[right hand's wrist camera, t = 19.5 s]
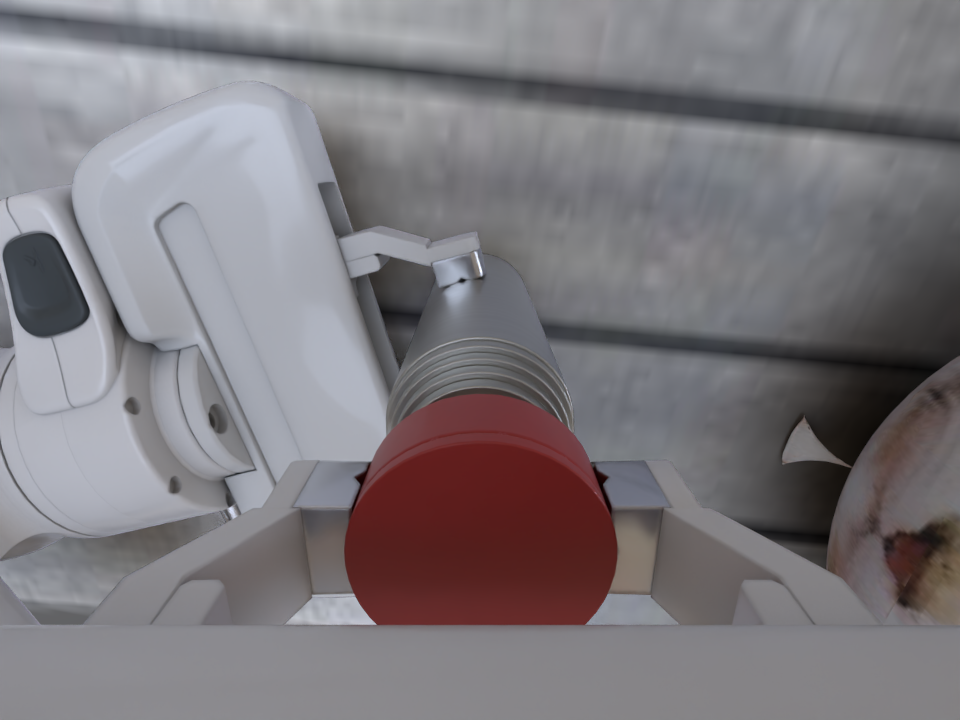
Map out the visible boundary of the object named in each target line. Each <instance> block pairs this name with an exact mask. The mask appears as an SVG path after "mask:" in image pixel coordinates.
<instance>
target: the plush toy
mask: <svg viewBox="0 0 960 720" xmlns="http://www.w3.org/2000/svg"><path fill="white" fill-rule="evenodd" d="M807 460H816V461H827V462H832V463H836V464H840V465H843V466H846V467H849V468H852V470H851V472H850V474H849V476H848V478H847V480H846V483H845V485H844V487H843V490H842V492H841V495H840V498H839V501H838V504H837V507H836V511H835V514H834V518H833V521H832V526H831V532H830V537H829V543H828V551H827V564H826V570H827V571H829V572H831V573H833V574H835V575H837V576H839V577H841V578H842V579H843V580H844V581H845V582H846V583H847V584H848V586H849V587H850V588H851V589H852V590H853V591H854V592H855V594H856V595H857V596H858V597H859V598H860V599H861V600H862V601H863V603H864V604H865V605H866V606H867V607H868V608H869V609H870V610H871V612H872V613H873V614H874V615H875V616H876V617H877V618H878V620H879V621H880V622H881V623H882V624H883V625H960V356H958V357H957V358H955V359H953V360H952V361H951V362H949V363H948V364H946V365H945V366H944V367H942V368H941V369H939V370H938V371H937V372H935V373H934V374H933V375H931V376H930V377H928V378H927V379H926V380H925V381H924V382H923V383H921V384H920V385H919V386H918V387H917V388H916V389H914V390H913V391H912V392H911V393H910V394H909V395H908V396H907V397H906V398H905V399H904V400H903V401H902V402H901V403H900V404H899V405H898V406H897V407H896V408H895V409H894V410H893V411H892V412H891V413H890V415H889V416H888V417H887V418H886V419H885V420H884V422H883V423H882V424H881V425H880V427H879V428H878V429H877V430H876V432H875V433H874V434H873V435H872V437H871V438H870V440H869V441H868V443H867V444H866V446H865V447H864V449H863V450H862V452H861V454H860V455H859V457H858V459H857V460H856V462H855V464H854V466H853V467H852V466H850V465H848V464H847V463H845V462H843V461H842V460H840V459H839V458H837V457H836V456H834V455H833V454H832V453H831V452H830V451H828V450H827V449H826V448H825V447H824V446H823V444H822V443H821V442H820V441H819V440H818V439H817V437H816V436H815V435H814V433H813V431H812V430H811V428H810V425H809V424H808V422H807V420H806V418H805V415H804V417H803V418H802V420H801V421H800V422H799V423H798V425H797V426H796V428H795V429H794V430H793V432H792V433H791V435H790V438H789V440H788V442H787V444H786V447H785V449H784V452H783V455H782V465H784V464H787V463H791V462H797V461H807Z"/></svg>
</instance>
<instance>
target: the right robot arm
mask: <svg viewBox="0 0 960 720" xmlns="http://www.w3.org/2000/svg"><path fill="white" fill-rule="evenodd" d="M370 464H371V461H329V460H322V461H320V460H296V461H292V462H291V463H290V465H289V466H288V468H287V469H286V471H285V472H284V474H283V476H282V477H281V479H280V480H279V482H278V483H277V485H276V486H275V488H274V489H273V491H272V492H271V494H270V495H269V497H268V498H267V500H266V502H265V503H264V505H263V506H262V508H252V509H251V510H249V511H247V512H245V513H243V514H241V515H239V516H237V517H236V518H234V519H232V520H230V521H228V522H226V523H224V524H223V525H221V526H219V527H217V528H215V529H213V530H211V531H209V532H208V533H206V534H204V535H202V536H200V537H198V538H196V539H195V540H193V541H191V542H189V543H187V544H185V545H183V546H181V547H180V548H178V549H176V550H174V551H172V552H170V553H168V554H167V555H165V556H163V557H161V558H159V559H157V560H155V561H153V562H152V563H150V564H148V565H146V566H144V567H142V568H140V569H139V570H137V571H135V572H133V573H131V574H129V575H127V576H125V577H124V578H123V579H122V580H121V581H120V582H119V583H118V584H117V586H116V587H115V588H114V589H113V590H112V591H111V592H110V594H109V595H108V596H107V597H106V598H105V599H104V600H103V601H102V603H101V604H100V605H99V606H98V607H97V608H96V609H95V611H94V612H93V613H92V614H91V615H90V616H89V617H88V619H87V620H86V621H85V622H84V623H83V624H82V625H0V720H960V625H883V624H882V623H881V622H880V621H879V620H878V618H877V617H876V616H875V615H874V614H873V613H872V612H871V610H870V609H869V608H868V607H867V606H866V605H865V604H864V603H863V601H862V600H861V599H860V598H859V597H858V596H857V595H856V594H855V592H854V591H853V590H852V589H851V588H850V587H849V586H848V584H847V583H846V582H845V581H844V580H843V579H842V578H841V577H839V576H837V575H835V574H833V573H831V572H829V571H827V570H826V569H824V568H822V567H820V566H818V565H816V564H814V563H812V562H811V561H809V560H807V559H805V558H803V557H801V556H799V555H797V554H796V553H794V552H792V551H790V550H788V549H786V548H784V547H782V546H781V545H779V544H777V543H775V542H773V541H771V540H769V539H768V538H766V537H764V536H762V535H760V534H758V533H756V532H754V531H753V530H751V529H749V528H747V527H745V526H743V525H741V524H739V523H738V522H736V521H734V520H732V519H730V518H728V517H726V516H724V515H723V514H721V513H719V512H717V511H715V510H713V509H711V508H702V507H701V505H700V504H699V502H698V501H697V499H696V498H695V496H694V495H693V493H692V492H691V490H690V489H689V487H688V486H687V484H686V483H685V481H684V480H683V478H682V477H681V475H680V474H679V473H678V471H677V470H676V468H675V467H674V465H673V464H672V462H671V461H669V460H649V461H607V462H591V465H592V468H593V471H594V473H595V476H596V479H597V481H598V484H599V487H600V489H601V492H602V495H603V497H604V500H605V503H606V505H607V508H608V511H609V513H610V516H611V519H612V522H613V525H614V528H615V532H616V538H617V546H618V559H617V565H616V572H615V576H614V579H613V582H612V585H611V588H610V590H609V592H608V594H640V595H651V597H652V598H653V599H654V600H655V601H656V602H657V603H658V604H659V605H660V606H661V607H662V608H663V609H664V610H665V611H666V612H667V613H668V614H669V615H670V616H671V617H673V618H674V619H675V620H676V621H677V622H678V623H679V624H680V625H284V624H285V623H286V622H287V621H288V620H289V619H290V618H291V617H292V616H293V615H294V614H296V613H297V612H298V611H299V610H300V609H301V608H302V607H303V606H304V605H305V604H306V603H307V602H308V601H309V600H310V599H311V598H312V595H323V594H354V593H353V590H352V588H351V585H350V583H349V580H348V576H347V572H346V567H345V558H344V545H345V535H346V531H347V528H348V524H349V520H350V518H351V515H352V512H353V510H354V507H355V504H356V502H357V499H358V496H359V494H360V491H361V488H362V486H363V483H364V480H365V478H366V475H367V472H368V470H369V467H370Z"/></svg>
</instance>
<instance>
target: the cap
mask: <svg viewBox="0 0 960 720" xmlns="http://www.w3.org/2000/svg"><path fill="white" fill-rule="evenodd" d="M344 558H345V567H346V572H347V576H348V580H349V583H350V585H351V588H352V590H353V593H354V595H355V596H356V598H357V600H358V602H359V603H360V605H361V607H362V608H363V609H364V611H365V612H366V613H367V614H368V616H369V617H370V618H371V619H372V620H373V621H374V622H375V623H376V624H377V625H585V624H586V623H587V622H588V621H589V620H590V619H591V618H592V617H593V615H594V614H595V613H596V612H597V610H598V609H599V607H600V606H601V605H602V603H603V602H604V600H605V598H606V596H607V594H608V592H609V590H610V588H611V585H612V582H613V579H614V576H615V572H616V565H617V559H618V546H617V538H616V532H615V528H614V525H613V522H612V519H611V516H610V513H609V511H608V508H607V505H606V503H605V500H604V497H603V495H602V492H601V489H600V487H599V484H598V481H597V479H596V476H595V473H594V471H593V468H592V465H591V463H590V460H589V458H588V456H587V454H586V452H585V450H584V448H583V446H582V445H581V443H580V442H579V441H578V439H577V438H576V437H575V435H574V434H573V433H572V432H571V431H570V430H569V429H568V428H567V427H566V426H565V425H564V424H563V423H562V422H560V421H559V420H558V419H557V418H555V417H554V416H553V415H551V414H550V413H548V412H546V411H544V410H543V409H541V408H539V407H537V406H535V405H532V404H530V403H528V402H525V401H522V400H518V399H515V398H511V397H507V396H502V395H494V394H470V395H460V396H456V397H451V398H446V399H442V400H439V401H437V402H434V403H431V404H429V405H427V406H425V407H423V408H421V409H419V410H417V411H415V412H414V413H412V414H411V415H409V416H408V417H406V418H405V419H403V420H402V421H401V422H400V423H399V424H398V425H397V426H395V427H394V428H393V429H392V430H391V432H390V433H389V434H388V435H387V436H386V437H385V439H384V440H383V441H382V443H381V444H380V446H379V448H378V449H377V451H376V453H375V455H374V457H373V460H372V462H371V464H370V467H369V470H368V472H367V475H366V478H365V480H364V483H363V486H362V488H361V491H360V494H359V496H358V499H357V502H356V504H355V507H354V510H353V512H352V515H351V518H350V520H349V524H348V528H347V531H346V535H345V545H344Z"/></svg>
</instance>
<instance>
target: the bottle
mask: <svg viewBox="0 0 960 720" xmlns="http://www.w3.org/2000/svg"><path fill="white" fill-rule="evenodd" d="M483 258H484V263H485V267H486V275H484V276H482V277H480V278H477V279H472V280H466V279H463V278H461V279H460V280H459V282H458V283H456V284H453V285H450V286H446V287H442V288H439V287H438V283H437V280H435V282H434V285H433V287H432V290H431V292H430V295H429V297H428V300H427V303H426V305H425V308H424V310H423V313H422V315H421V318H420V320H419V323H418V326H417V328H416V331H415V333H414V336H413V338H412V341H411V343H410V346H409V348H408V351H407V354H406V356H405V359H404V361H403V364H402V366H401V369H400V371H399V374H398V376H397V379H396V382H395V384H394V387H393V389H392V392H391V394H390V397H389V401H388V405H387V411H386V436H387V435H388V434H389V433H390V432H391V430H392V429H393V428H394V427H395V426H397V425H398V424H399V423H400V422H401V421H402V420H403V419H405V418H406V417H408V416H409V415H411V414H412V413H414V412H415V411H417V410H419V409H421V408H423V407H425V406H427V405H429V404H431V403H434V402H437V401H439V400H442V399H446V398H451V397H456V396H460V395H470V394H494V395H502V396H507V397H511V398H515V399H518V400H522V401H525V402H528V403H530V404H532V405H535V406H537V407H539V408H541V409H543V410H544V411H546V412H548V413H550V414H551V415H553V416H554V417H555V418H557V419H558V420H559V421H560V422H562V423H563V424H564V425H565V426H566V427H567V428H568V429H569V430H570V431H571V432H572V433H573V434H574V410H573V405H572V400H571V397H570V395H569V392H568V389H567V387H566V384H565V382H564V379H563V377H562V374H561V372H560V370H559V367H558V365H557V362H556V360H555V357H554V355H553V352H552V350H551V348H550V345H549V343H548V340H547V338H546V335H545V333H544V331H543V328H542V326H541V323H540V321H539V318H538V316H537V313H536V311H535V309H534V306H533V304H532V301H531V299H530V296H529V294H528V292H527V289H526V287H525V284H524V282H523V280H522V278H521V276H520V275H519V273H518V272H517V271H516V270H515V269H514V268H513V267H512V266H511V265H510V264H509V263H507V262H506V261H504V260H503V259H500V258H498V257H496V256H492V255H488V254H483Z"/></svg>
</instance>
